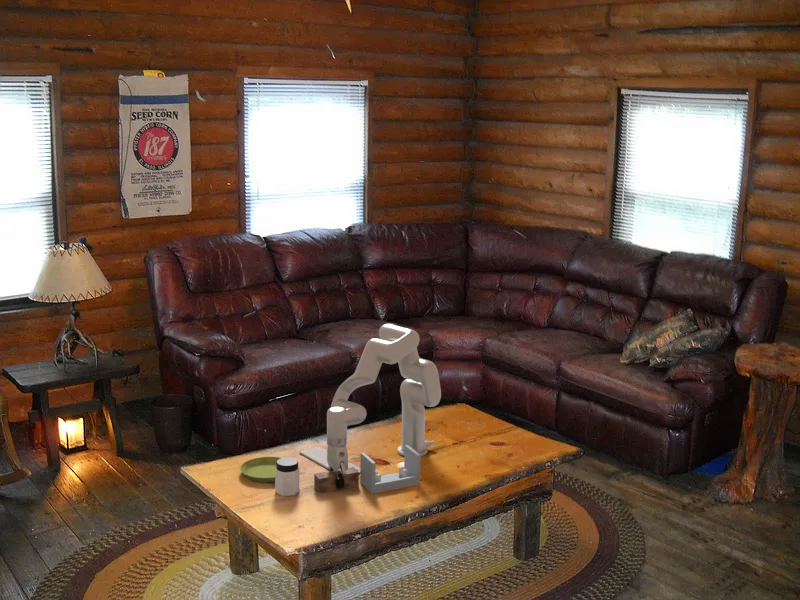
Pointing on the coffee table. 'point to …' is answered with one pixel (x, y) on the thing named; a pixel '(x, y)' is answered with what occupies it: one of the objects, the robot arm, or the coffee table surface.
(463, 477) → the coffee table surface
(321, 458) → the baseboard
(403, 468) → the peg frame
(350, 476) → the shelf board
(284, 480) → the jar
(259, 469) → the saucer
